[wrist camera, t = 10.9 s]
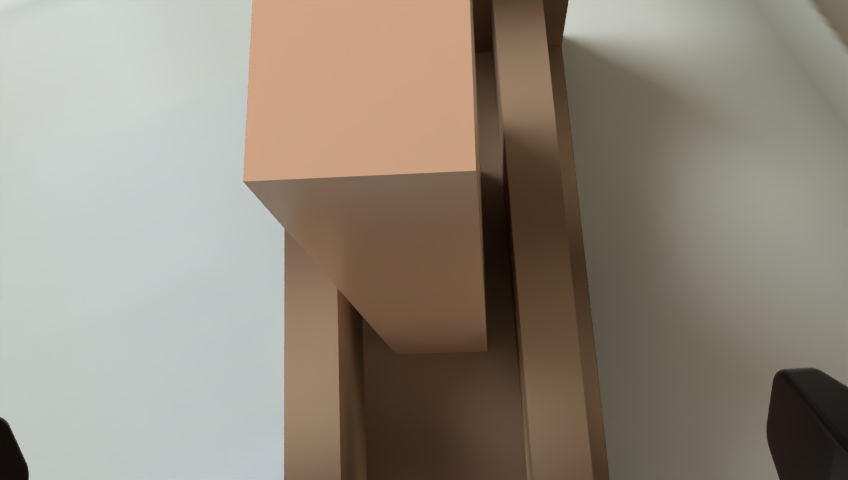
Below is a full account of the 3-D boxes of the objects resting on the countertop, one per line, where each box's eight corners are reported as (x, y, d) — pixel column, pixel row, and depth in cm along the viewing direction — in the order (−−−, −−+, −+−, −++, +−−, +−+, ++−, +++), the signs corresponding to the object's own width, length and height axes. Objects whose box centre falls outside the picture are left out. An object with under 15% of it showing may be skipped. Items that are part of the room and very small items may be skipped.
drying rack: (608, 520, 20) (672, 551, 13) (298, 535, 20) (191, 572, 13) (555, 33, 24) (581, -154, 17) (296, 56, 24) (214, -115, 17)
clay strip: (487, 351, 20) (475, 170, 8) (395, 354, 21) (242, 180, 8) (480, 171, 22) (461, -224, 9) (394, 175, 22) (263, -206, 9)
